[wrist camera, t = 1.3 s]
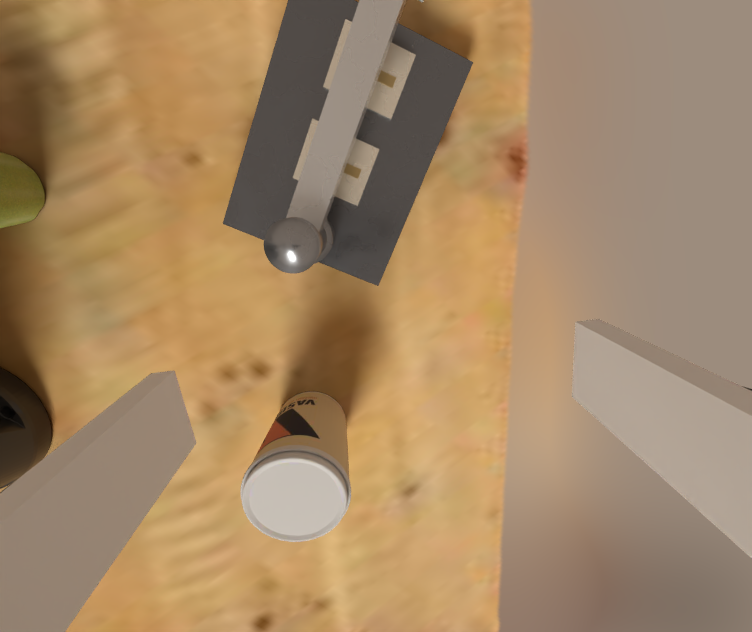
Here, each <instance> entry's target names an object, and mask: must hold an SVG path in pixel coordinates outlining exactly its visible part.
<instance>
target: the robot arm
mask: <svg viewBox="0 0 752 632" xmlns="http://www.w3.org/2000/svg"><path fill="white" fill-rule="evenodd" d="M572 397H573V398H574V399H575V400H576V401H577V402H578V403H579V404H581V405H582V406H583V407H584V408H585V409H586V410H587V411H589V413H591V414H592V415H593V416H594V417H595V418H596V419H597V420H598V421H600V422H601V423H602V424H603V425H604V426H605V427H606V428H607V429H608V430H610V431H611V432H612V433H613V434H614V435H615V436H616V437H617V438H618V439H620V440H621V441H622V442H623V443H624V444H625V445H626V446H627V447H628V448H630V449H631V450H632V451H633V452H634V453H635V454H636V455H637V456H638V457H640V458H641V459H642V460H643V461H644V462H645V463H647V465H648V466H650V467H651V468H652V469H653V470H654V471H655V472H656V473H657V474H658V475H660V476H661V477H662V478H663V479H664V480H665V481H666V482H668V483H669V484H670V485H671V486H672V487H673V488H674V489H675V490H676V491H677V492H678V493H680V494H681V495H682V496H683V497H684V498H685V499H686V500H687V501H688V502H690V503H691V504H692V505H693V506H694V507H695V508H696V509H697V510H698V511H700V512H701V513H702V514H703V515H704V516H705V517H706V518H707V519H709V520H710V521H711V522H712V523H713V524H714V525H715V526H716V527H717V528H718V529H720V530H721V531H722V532H723V533H724V534H725V535H726V536H727V537H728V538H730V539H731V540H732V541H733V542H734V543H735V544H736V545H737V546H738V547H740V548H741V549H742V550H743V551H744V552H745V553H746V554H747V555H748V556H750V557H751V558H752V389H749V388H746V387H743V386H740V385H738V384H736V383H734V382H731V381H729V380H727V379H725V378H723V377H721V376H719V375H717V374H714V373H712V372H710V371H708V370H706V369H704V368H702V367H700V366H697V365H695V364H693V363H691V362H689V361H687V360H685V359H682V358H681V357H678V356H676V355H674V354H672V353H670V352H668V351H666V350H664V349H661V348H659V347H657V346H655V345H653V344H651V343H649V342H647V341H644V340H642V339H640V338H638V337H636V336H634V335H632V334H630V333H628V332H625V331H623V330H621V329H619V328H617V327H615V326H613V325H610V324H608V323H606V322H604V321H602V320H600V319H595V320H586V321H578V322H576V325H575V344H574V366H573V386H572ZM50 443H51V425H50V420H49V417H48V415H47V412H46V410H45V408H44V406H43V404H42V403H41V401H40V400H39V398H38V397H37V396H36V395H35V393H34V392H33V391H32V390H31V389H30V388H29V387H28V386H27V385H26V384H24V383H23V382H22V381H21V380H20V379H18V378H17V377H15V376H14V375H12V374H11V373H9V372H7V371H5V370H4V369H2V368H0V489H1V488H4V487H6V486H8V485H9V486H8V487H7V488H5V489H4V490H3V491H2V492H0V632H65V631H66V630H67V628H68V627H69V625H70V624H71V622H72V621H73V619H74V618H75V617H76V615H77V614H78V612H79V611H80V609H81V608H82V607H83V605H84V604H85V602H86V601H87V599H88V598H89V596H90V595H91V594H92V592H93V591H94V589H95V588H96V586H97V585H98V584H99V582H100V581H101V579H102V578H103V576H104V575H105V573H106V572H107V571H108V569H109V568H110V566H111V565H112V563H113V562H114V561H115V559H116V558H117V556H118V555H119V553H120V552H121V550H122V549H123V548H124V546H125V545H126V543H127V542H128V540H129V539H130V538H131V536H132V535H133V533H134V532H135V530H136V529H137V527H138V526H139V525H140V523H141V522H142V520H143V519H144V517H145V516H146V515H147V513H148V512H149V510H150V509H151V507H152V506H153V504H154V503H155V502H156V500H157V499H158V497H159V496H160V494H161V493H162V492H163V490H164V489H165V487H166V486H167V484H168V483H169V481H170V480H171V479H172V477H173V476H174V474H175V473H176V471H177V470H178V469H179V467H180V466H181V464H182V463H183V461H184V460H185V458H186V457H187V456H188V454H189V453H190V451H191V450H192V448H193V447H194V445H195V444H196V440H195V437H194V433H193V430H192V427H191V424H190V420H189V417H188V414H187V410H186V407H185V404H184V400H183V397H182V394H181V391H180V387H179V384H178V381H177V377H176V374H175V371H167V372H159V373H151V374H150V375H148V376H147V377H146V378H145V379H143V380H142V381H141V382H140V383H138V384H137V385H136V386H134V387H133V388H132V389H131V390H129V391H128V392H127V393H126V394H124V395H123V396H122V397H121V398H119V399H118V400H117V401H116V402H114V403H113V404H112V405H111V406H109V407H108V408H107V409H106V410H104V411H103V412H102V413H101V414H99V415H98V416H97V417H96V418H94V419H93V420H92V421H90V422H89V423H88V424H87V425H85V426H84V427H83V428H82V429H80V430H79V431H78V432H77V433H75V434H74V435H73V436H72V437H70V438H69V439H68V440H67V441H65V442H64V443H63V444H62V445H60V446H59V447H58V448H57V449H55V450H54V451H53V452H51V453H50V454H49V455H48V456H46V457H45V455H46V454H47V452H48V449H49V447H50ZM44 457H45V458H44ZM43 458H44V459H43Z"/></svg>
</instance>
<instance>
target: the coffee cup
mask: <svg viewBox="0 0 752 632" xmlns="http://www.w3.org/2000/svg"><path fill="white" fill-rule="evenodd" d="M350 499H351V486H350V481H349V464H348V445H347V427H346V418H345V414H344V411H343V409H342V407H341V406H340V405H339V403H338V402H337V401H336V400H335V399H333V398H332V397H330V396H329V395H326V394H324V393H320V392H304V393H300V394H297V395H295V396H293V397H292V398H290V399H289V400H288V401H287V402H286V403H285V404H284V405H283V407H282V408H281V410H280V412H279V413H278V415H277V417H276V419H275V421H274V423H273V424H272V426H271V428H270V430H269V432H268V434H267V436H266V438H265V439H264V441H263V443H262V445H261V447H260V449H259V451H258V453H257V455H256V457H255V459H254V461H253V463H252V464H251V465H250V466H249V468H248V470H247V471H246V473H245V475H244V477H243V481H242V484H241V500H242V505H243V509H244V512H245V514H246V516H247V518H248V519H249V520H250V522H251V523H252V524H253V525H254V526H255V527H256V528H257V529H258V530H260V531H261V532H263V533H264V534H266V535H268V536H270V537H273V538H275V539H279V540H283V541H290V542H302V541H308V540H313V539H315V538H318V537H320V536H323V535H324V534H326V533H328V532H329V531H331V530H332V529H333V528H334V527H335V526H336V525H337V524H338V523H339V522H340V520H341V519H342V517H343V516H344V515H345V513H346V511H347V509H348V507H349V503H350Z"/></svg>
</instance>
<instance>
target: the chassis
mask: <svg viewBox="0 0 752 632" xmlns="http://www.w3.org/2000/svg"><path fill="white" fill-rule="evenodd" d="M357 6H358V2H357V1H355V0H288V3H287V7H286V10H285V14H284V17H283V20H282V24H281V27H280V31H279V34H278V37H277V41H276V44H275V48H274V51H273V54H272V58H271V61H270V65H269V68H268V71H267V75H266V78H265V82H264V85H263V88H262V92H261V95H260V99H259V102H258V105H257V109H256V112H255V116H254V119H253V123H252V126H251V129H250V133H249V136H248V140H247V143H246V146H245V150H244V153H243V157H242V160H241V163H240V167H239V170H238V174H237V177H236V180H235V184H234V187H233V191H232V194H231V197H230V201H229V204H228V208H227V211H226V215H225V218H224V221H223V224H225V225H228V226H230V227H233V228H235V229H237V230H240V231H242V232H245V233H247V234H250V235H252V236H255V237H257V238H260V239H262V240H264V238H265V234H266V232H267V230H268V229H269V227H270V226H271V225H272V224H273V223H275V222H276V221H278V220H281V219H284V218H286V216H287V213H288V210H289V207H290V204H291V202H292V199H293V196H294V193H295V190H296V187H297V184H298V181H299V178H300V175H301V172H302V169H303V166H304V163H305V160H306V157H307V154H308V151H309V148H310V145H311V142H312V139H313V136H314V133H315V130H316V128H317V125H318V122H319V119H320V116H321V113H322V110H323V107H324V104H325V101H326V98H327V95H328V92H329V89H330V86H331V83H332V80H333V77H334V74H335V71H336V68H337V65H338V62H339V59H340V56H341V53H342V51H343V48H344V45H345V42H346V39H347V36H348V33H349V30H350V27H351V24H352V21H353V18H354V15H355V12H356V9H357ZM472 64H473V62H471V61H469V60H468V59H466V58H464V57H462V56H460V55H458V54H456V53H454V52H452V51H450V50H448V49H447V48H445V47H443V46H441V45H439V44H437V43H435V42H433V41H431V40H429V39H427V38H425V37H424V36H422V35H420V34H418V33H416V32H414V31H412V30H410V29H408V28H406V27H404V26H402V25H401V24H399V23H398V26H397V28H396V31H395V34H394V36H393V39H392V42H391V45H390V47H389V50H388V53H387V55H386V58H385V61H384V64H383V66H382V69H381V72H380V75H379V77H378V80H377V83H376V85H375V88H374V91H373V94H372V96H371V99H370V102H369V105H368V107H367V110H366V113H365V115H364V118H363V121H362V124H361V126H360V129H359V132H358V134H357V137H356V140H355V143H354V145H353V148H352V151H351V154H350V156H349V159H348V162H347V164H346V167H345V170H344V173H343V175H342V178H341V181H340V184H339V186H338V189H337V192H336V194H335V197H334V200H333V203H332V205H331V208H330V211H329V213H328V216H327V219H326V222H325V224H324V229H325V231H326V234H327V244H326V247H325V250H324V251H323V253H322V254H321V255H320V256H319V258H318V259H317V260H316V261H315V263H317V262H320V263H322V264H325V265H327V266H330V267H332V268H335V269H337V270H340V271H342V272H345V273H347V274H350V275H352V276H355V277H357V278H360V279H362V280H365V281H367V282H370V283H372V284H375V285H377V286H378V285H379V283H380V280H381V278H382V276H383V273H384V271H385V269H386V266H387V264H388V262H389V259H390V257H391V255H392V252H393V250H394V247H395V245H396V243H397V240H398V238H399V236H400V233H401V231H402V229H403V226H404V224H405V222H406V219H407V217H408V214H409V212H410V210H411V207H412V205H413V203H414V200H415V198H416V196H417V193H418V191H419V189H420V186H421V184H422V182H423V179H424V177H425V174H426V172H427V170H428V167H429V165H430V163H431V160H432V158H433V156H434V153H435V151H436V149H437V146H438V144H439V142H440V139H441V137H442V134H443V132H444V130H445V127H446V125H447V123H448V120H449V118H450V116H451V113H452V111H453V109H454V106H455V104H456V101H457V99H458V97H459V94H460V92H461V90H462V87H463V85H464V83H465V80H466V78H467V76H468V73H469V71H470V69H471V66H472Z"/></svg>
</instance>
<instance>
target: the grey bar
mask: <svg viewBox="0 0 752 632" xmlns="http://www.w3.org/2000/svg"><path fill="white" fill-rule="evenodd" d="M406 1H407V0H359V3H358V6H357V9H356V12H355V15H354V18H353V21H352V24H351V27H350V30H349V33H348V36H347V39H346V42H345V45H344V48H343V51H342V53H341V56H340V59H339V62H338V65H337V68H336V71H335V74H334V77H333V80H332V83H331V86H330V89H329V92H328V95H327V98H326V101H325V104H324V107H323V110H322V113H321V116H320V119H319V122H318V125H317V128H316V130H315V133H314V136H313V139H312V142H311V145H310V148H309V151H308V154H307V157H306V160H305V163H304V166H303V169H302V172H301V175H300V178H299V181H298V184H297V187H296V190H295V193H294V196H293V199H292V202H291V204H290V207H289V210H288V213H287V216H286V218H284V219H281V220H278V221H276V222H275V223H273V224H272V225H271V226H270V227H269V229H268V230H267V232H266V234H265V238H264V250H265V254H266V256H267V258H268V260H269V261H270V262H271V264H272V265H273V266H275V267H276V268H277V269H279V270H281V271H283V272H286V273H300V272H303V271H305V270H307V269H308V268H310V267H311V266H312V265H313V264H314V263H315V261H316V260H317V259H318V258H319V256H320V255H321V254H322V253H323V251H324V250H325V247H326V244H327V234H326V231H325V229H324V224H325V222H326V219H327V216H328V213H329V211H330V208H331V205H332V203H333V200H334V197H335V194H336V192H337V189H338V186H339V184H340V181H341V178H342V175H343V173H344V170H345V167H346V164H347V162H348V159H349V156H350V154H351V151H352V148H353V145H354V143H355V140H356V137H357V134H358V132H359V129H360V126H361V124H362V121H363V118H364V115H365V113H366V110H367V107H368V105H369V102H370V99H371V96H372V94H373V91H374V88H375V85H376V83H377V80H378V77H379V75H380V72H381V69H382V66H383V64H384V61H385V58H386V55H387V53H388V50H389V47H390V45H391V42H392V39H393V36H394V34H395V31H396V28H397V26H398V23H399V20H400V17H401V15H402V12H403V9H404V6H405V4H406ZM419 1H421V2H423V1H424V0H419Z"/></svg>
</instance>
